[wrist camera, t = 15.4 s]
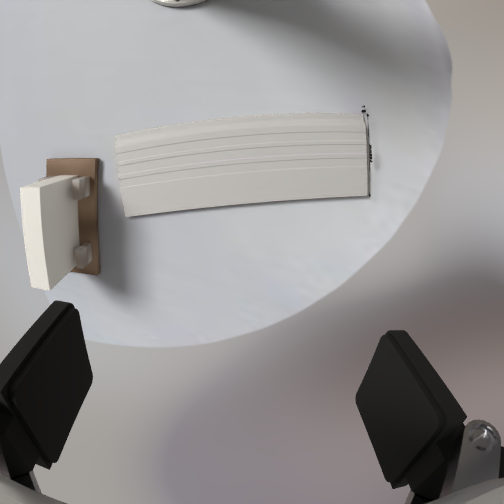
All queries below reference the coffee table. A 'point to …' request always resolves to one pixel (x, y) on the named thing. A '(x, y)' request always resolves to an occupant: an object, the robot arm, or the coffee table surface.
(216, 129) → the baseboard molding
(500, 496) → the robot arm
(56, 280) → the cabinet door
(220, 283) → the coffee table surface
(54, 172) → the hinge mount
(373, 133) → the coffee table surface
